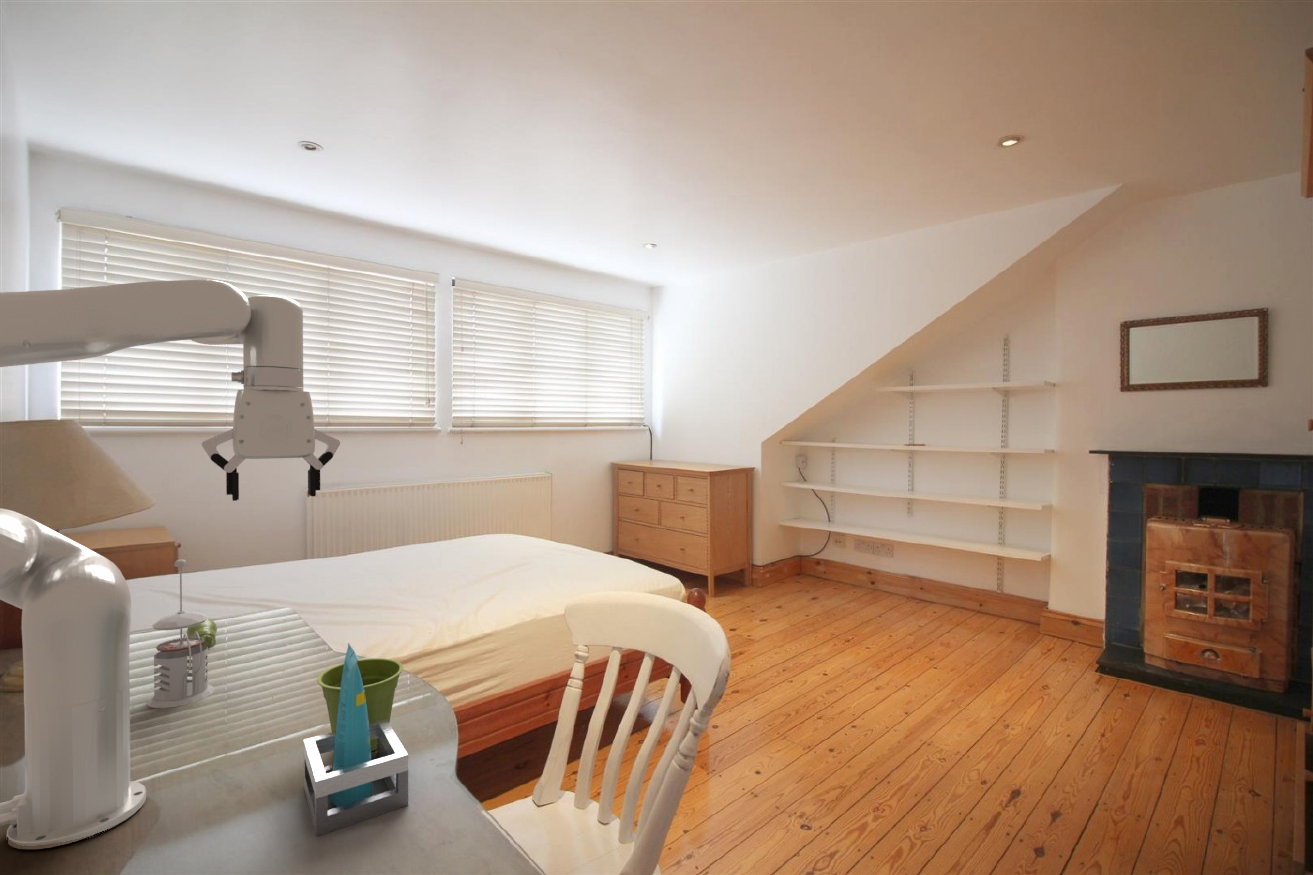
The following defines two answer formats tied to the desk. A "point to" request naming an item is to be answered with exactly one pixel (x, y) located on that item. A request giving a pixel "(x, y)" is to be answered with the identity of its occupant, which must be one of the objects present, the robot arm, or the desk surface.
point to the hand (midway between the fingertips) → (274, 497)
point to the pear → (204, 632)
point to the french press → (181, 660)
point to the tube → (352, 730)
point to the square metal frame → (355, 779)
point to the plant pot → (376, 683)
